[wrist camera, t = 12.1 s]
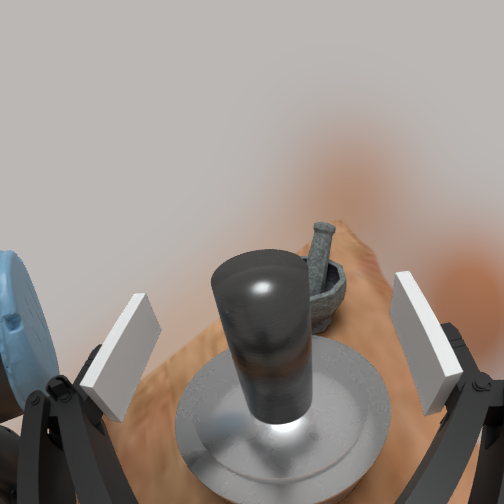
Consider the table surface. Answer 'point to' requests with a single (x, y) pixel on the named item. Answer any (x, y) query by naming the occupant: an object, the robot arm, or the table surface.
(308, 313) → the steel lid
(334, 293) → the mortar and pestle
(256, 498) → the cooker pot
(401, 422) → the table surface
